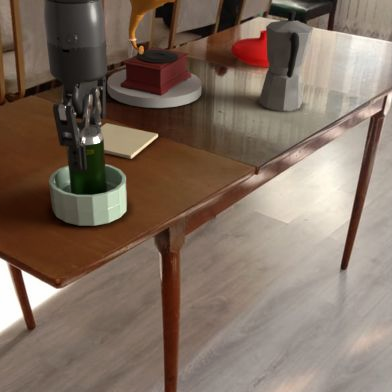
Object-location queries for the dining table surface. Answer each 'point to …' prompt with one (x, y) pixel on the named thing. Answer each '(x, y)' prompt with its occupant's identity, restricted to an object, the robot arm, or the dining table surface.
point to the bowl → (88, 199)
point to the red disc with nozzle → (252, 50)
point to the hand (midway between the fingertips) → (86, 161)
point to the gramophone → (153, 71)
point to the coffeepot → (285, 63)
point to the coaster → (125, 140)
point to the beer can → (90, 165)
